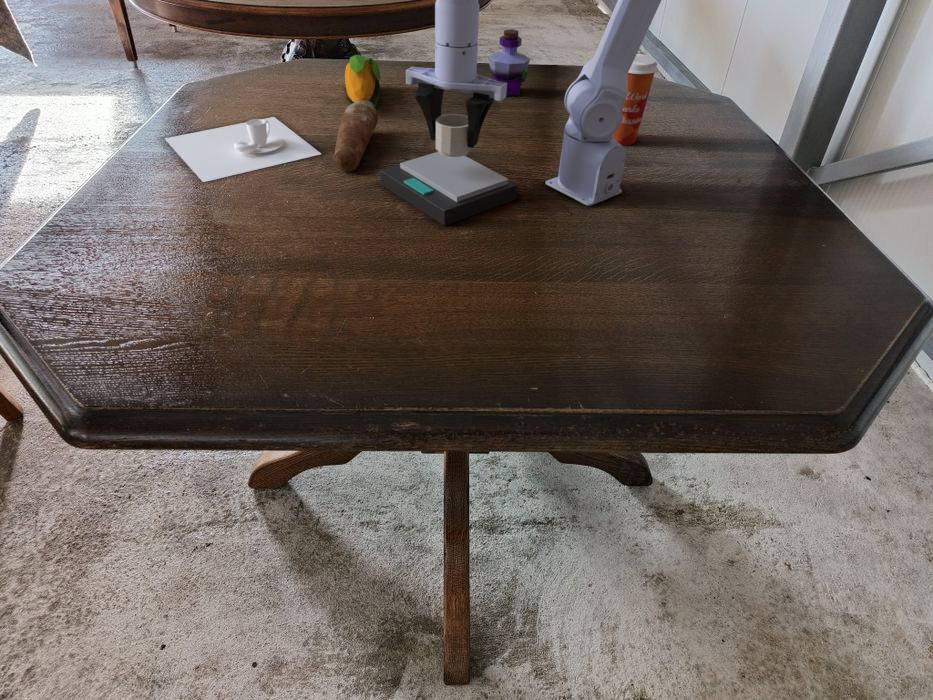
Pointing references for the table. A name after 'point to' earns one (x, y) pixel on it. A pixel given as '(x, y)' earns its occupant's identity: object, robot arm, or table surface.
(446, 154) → the white faceted cup
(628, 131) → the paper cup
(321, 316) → the table surface
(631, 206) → the table surface
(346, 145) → the brown yam
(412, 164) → the scale
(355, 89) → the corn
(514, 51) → the potion bottle
